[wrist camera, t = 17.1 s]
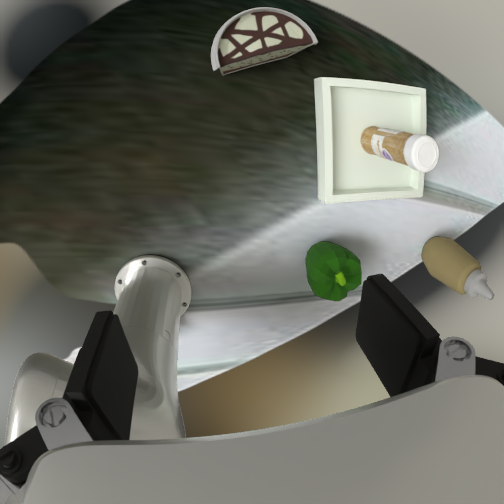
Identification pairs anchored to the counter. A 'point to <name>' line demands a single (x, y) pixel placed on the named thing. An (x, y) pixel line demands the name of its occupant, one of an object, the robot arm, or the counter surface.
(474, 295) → the squeeze bottle
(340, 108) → the tray
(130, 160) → the counter surface
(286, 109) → the counter surface
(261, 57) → the food container
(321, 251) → the bell pepper
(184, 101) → the counter surface
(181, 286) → the robot arm
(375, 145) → the sprinkles bottle
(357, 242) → the counter surface
